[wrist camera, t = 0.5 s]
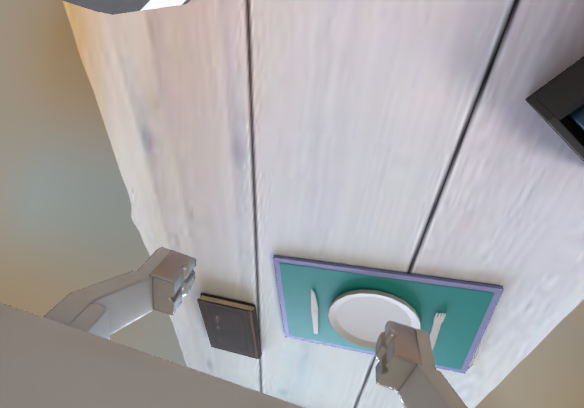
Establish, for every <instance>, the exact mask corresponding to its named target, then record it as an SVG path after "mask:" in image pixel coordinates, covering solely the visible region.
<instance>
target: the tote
mask: <svg viewBox="0 0 584 408" xmlns="http://www.w3.org/2000/svg"><path fill="white" fill-rule="evenodd" d="M526 101H527V102H528V103H529V104H530V105H531V106H532V107H533V108H534V109H535V110H536V111H537V112H538V114H539V115H540V116H541V117H542V118H543V119H544V120H545V121H546V122H547V123H548V124H549V125H550V126H551V127H552V128H553V129H554V130H555V132H556V133H557V134H558V135H559V136H560V137H561V138H562V139H563V140H564V141H565V142H566V143H567V144H568V145H569V146H570V147H571V148H572V150H573V151H574V152H575V153H576V154H577V155H578V156H579V157H580V158H581V159H582V160H583V161H584V136H583V135H582V133H581V132H580V131H579V130H578V129H577V128H576V127H575V126H574V125H573V124H572V123H571V122H570V120H569V119H568V118H567V117H566V116H567V115H568V114H570V113H571V112H573V111H574V110H576V109H577V108H579V107H580V106H582V105H583V104H584V57H582V58H581V59H580V60H578V61H577V62H576V63H574V64H573V65H571V66H570V67H569V68H567V69H566V70H565V71H563V72H562V73H561V74H559V75H558V76H557V77H555V78H554V79H552V80H551V81H550V82H548V83H547V84H546V85H544V86H543V87H542V88H540V89H539V90H537V91H536V92H535V93H533V94H532V95H531V96H529V97H528V98H527V99H526Z"/></svg>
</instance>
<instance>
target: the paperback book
mask: <svg viewBox="0 0 584 408" xmlns="http://www.w3.org/2000/svg"><path fill="white" fill-rule="evenodd" d="M197 300H198V303H199V307H200V310H201V313H202V317H203V320H204V323H205V327H206V330H207V333H208V337H209V340H210V344H211V347H214V348H218V349H222V350H226V351H229V352H233V353H237V354H241V355H245V356H249V357H252V358H256V359H259V358H260V357H261V354H262V353H261V346H260V338H259V331H258V323H257V316H256V308H255V305H252V304H247V303H243V302H238V301H234V300H230V299H225V298H221V297H216V296H212V295H207V294H203V293H201V298H200V299H197Z"/></svg>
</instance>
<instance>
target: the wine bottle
mask: <svg viewBox="0 0 584 408" xmlns="http://www.w3.org/2000/svg"><path fill="white" fill-rule="evenodd" d="M63 1H66V2H69V3H72V4H75V5H78V6H81V7H84V8H88V9H91V10H94V11H98V12H103V13H108V14H119V13H126V12H134V11H141V10H148V9H155V8H162V7H169V6H176V5H183V4H186V3H188V2H189V1H190V0H63Z"/></svg>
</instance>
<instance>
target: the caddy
mask: <svg viewBox="0 0 584 408" xmlns="http://www.w3.org/2000/svg"><path fill="white" fill-rule="evenodd" d="M566 117H567V118H568V119H569V120H570V122H571V123H572V124H573V125H574V126H575V127H576V128H577V129H578V130H579V131H580V132H581V133H582V135H583V136H584V104H583V105H582V106H580V107H579V108H577V109H576V110H574V111H573V112H571V113H570V114H568V115H567V116H566Z"/></svg>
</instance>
